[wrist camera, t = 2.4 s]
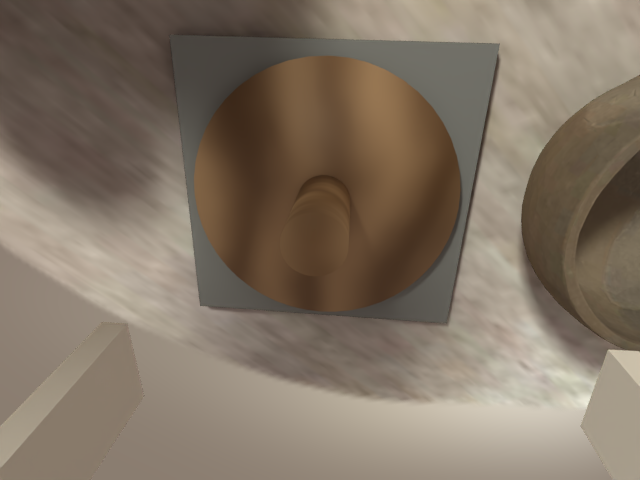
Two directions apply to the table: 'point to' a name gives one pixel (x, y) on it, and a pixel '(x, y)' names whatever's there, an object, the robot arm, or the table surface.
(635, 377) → the robot arm
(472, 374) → the table surface
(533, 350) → the table surface
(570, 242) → the bowl
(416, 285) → the mat
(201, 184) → the lid
